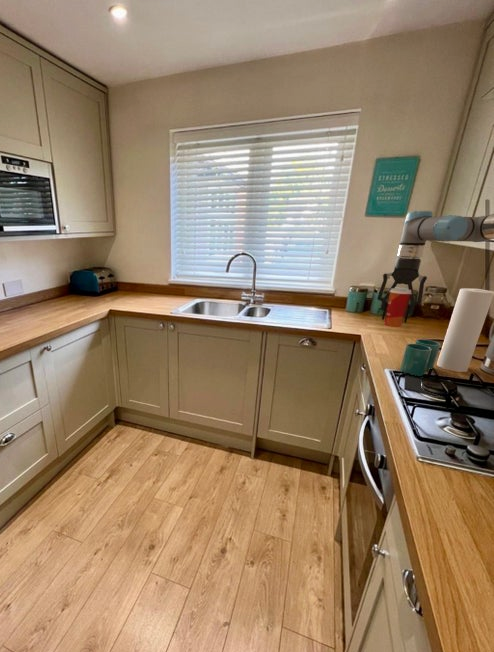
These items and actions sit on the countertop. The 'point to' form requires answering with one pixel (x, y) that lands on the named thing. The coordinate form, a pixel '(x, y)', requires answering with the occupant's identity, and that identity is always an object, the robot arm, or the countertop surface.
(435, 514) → the countertop surface
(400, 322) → the paper cup
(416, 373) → the teal cup
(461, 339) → the paper towel roll
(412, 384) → the mat
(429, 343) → the teal cup
